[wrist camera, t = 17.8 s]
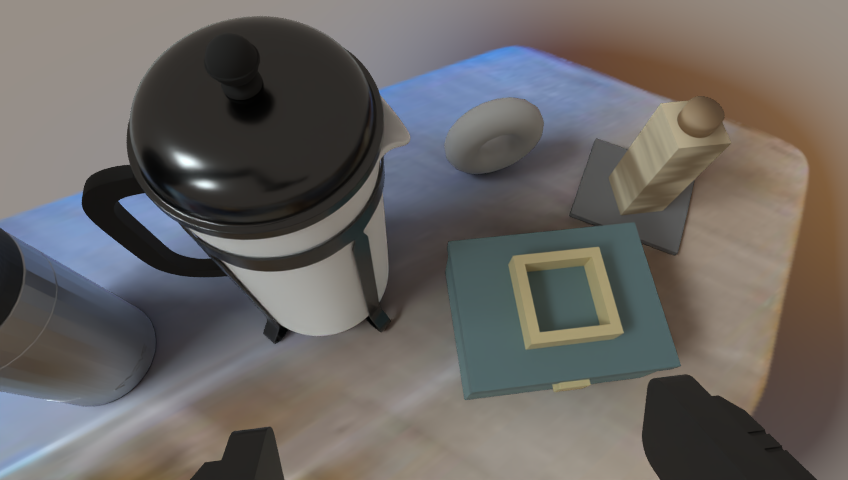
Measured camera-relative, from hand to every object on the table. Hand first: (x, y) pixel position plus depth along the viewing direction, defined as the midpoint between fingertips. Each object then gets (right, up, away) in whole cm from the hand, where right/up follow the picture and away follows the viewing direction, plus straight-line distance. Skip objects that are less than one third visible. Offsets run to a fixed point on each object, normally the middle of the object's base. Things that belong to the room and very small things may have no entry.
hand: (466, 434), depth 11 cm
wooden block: (+21, +9, +42) cm, 48 cm away
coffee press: (-11, 0, +38) cm, 39 cm away
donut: (+6, +12, +44) cm, 46 cm away
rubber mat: (+21, +9, +43) cm, 48 cm away
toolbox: (+10, -4, +37) cm, 38 cm away
